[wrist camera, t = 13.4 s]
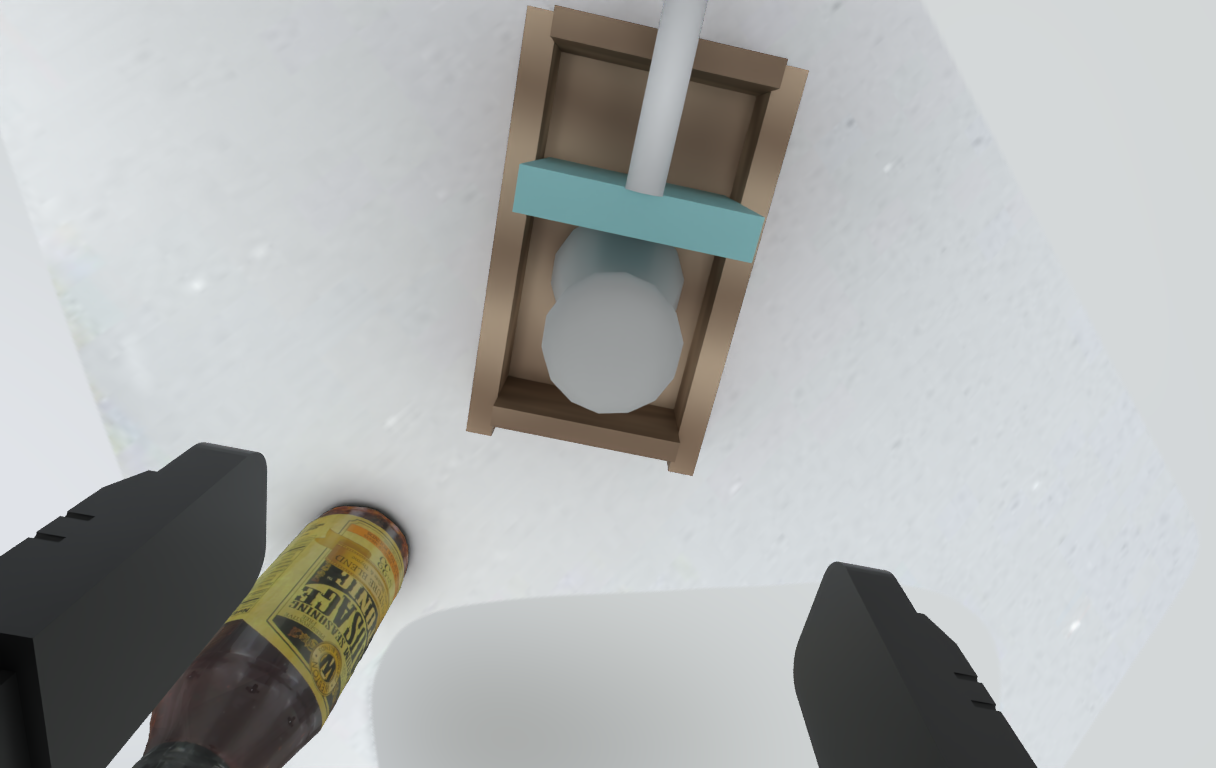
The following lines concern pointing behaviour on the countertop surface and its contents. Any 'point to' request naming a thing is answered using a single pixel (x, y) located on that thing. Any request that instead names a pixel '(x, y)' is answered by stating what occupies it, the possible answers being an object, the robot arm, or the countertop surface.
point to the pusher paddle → (647, 167)
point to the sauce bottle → (283, 649)
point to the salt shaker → (613, 320)
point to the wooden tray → (604, 137)
